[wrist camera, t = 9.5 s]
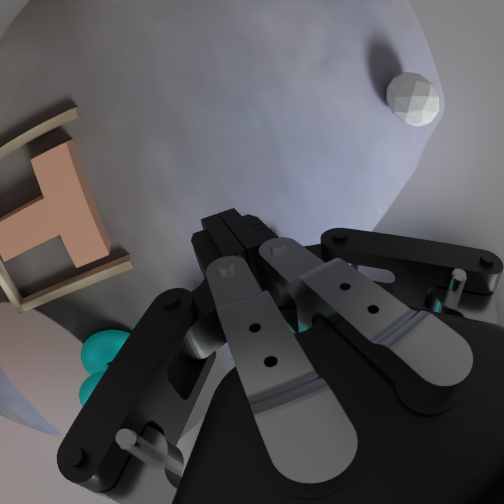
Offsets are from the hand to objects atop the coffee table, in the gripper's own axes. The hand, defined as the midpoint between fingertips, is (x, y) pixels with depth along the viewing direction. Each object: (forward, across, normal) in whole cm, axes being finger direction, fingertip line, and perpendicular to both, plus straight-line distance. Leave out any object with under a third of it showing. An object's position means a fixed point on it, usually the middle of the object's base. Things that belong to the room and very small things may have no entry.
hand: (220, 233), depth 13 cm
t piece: (+18, +15, 0) cm, 24 cm away
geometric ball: (+19, -32, -3) cm, 37 cm away
